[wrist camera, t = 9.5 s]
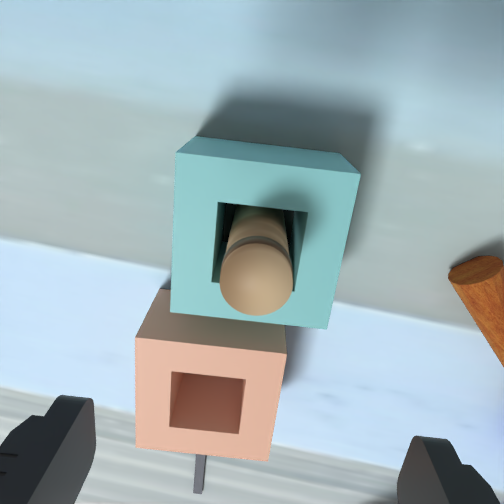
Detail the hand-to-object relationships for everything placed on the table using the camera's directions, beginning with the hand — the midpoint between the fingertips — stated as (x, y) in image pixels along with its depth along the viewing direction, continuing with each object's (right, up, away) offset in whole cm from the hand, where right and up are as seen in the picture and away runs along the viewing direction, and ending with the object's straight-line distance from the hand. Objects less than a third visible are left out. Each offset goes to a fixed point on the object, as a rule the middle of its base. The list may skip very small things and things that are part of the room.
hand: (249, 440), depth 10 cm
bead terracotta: (-3, -3, +21) cm, 21 cm away
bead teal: (+1, +7, +17) cm, 18 cm away
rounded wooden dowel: (+1, +7, +17) cm, 18 cm away
